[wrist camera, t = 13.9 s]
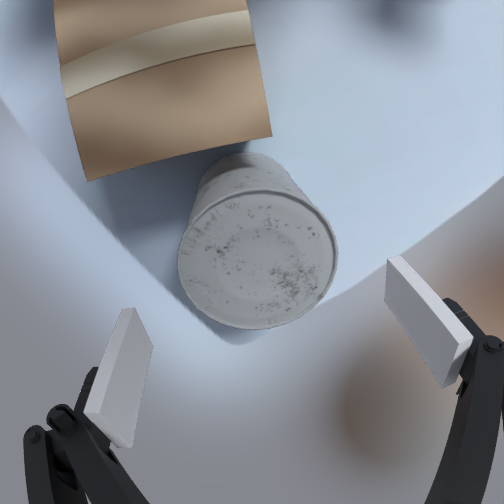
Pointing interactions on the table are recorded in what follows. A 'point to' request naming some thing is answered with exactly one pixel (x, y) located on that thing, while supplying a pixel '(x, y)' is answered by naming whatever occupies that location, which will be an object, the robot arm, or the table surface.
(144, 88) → the lid
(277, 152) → the table surface
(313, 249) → the grey cylinder
